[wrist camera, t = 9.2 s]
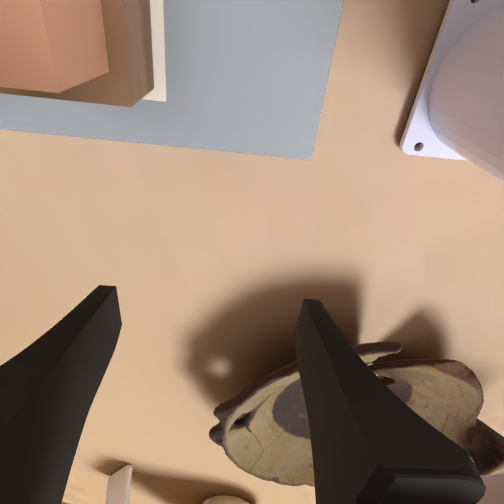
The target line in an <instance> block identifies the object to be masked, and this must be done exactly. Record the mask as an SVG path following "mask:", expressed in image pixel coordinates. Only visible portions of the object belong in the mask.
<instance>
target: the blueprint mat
mask: <svg viewBox="0 0 504 504" xmlns="http://www.w3.org/2000/svg"><path fill="white" fill-rule="evenodd" d="M343 3H344V0H150V12H151V33H152V53H153V73H154V89H153V90H152V91H151V92H149V93H148V94H147V95H146V96H144V97H143V98H142V99H141V100H139V101H138V102H137V103H136V104H134V105H133V106H132V107H124V106H114V105H105V104H95V103H86V102H77V101H67V100H58V99H49V98H39V97H30V96H20V95H11V94H2V93H0V130H10V131H20V132H31V133H41V134H51V135H61V136H71V137H81V138H91V139H101V140H111V141H121V142H131V143H142V144H152V145H162V146H172V147H182V148H192V149H202V150H212V151H222V152H232V153H242V154H253V155H263V156H273V157H283V158H293V159H303V160H311V156H312V151H313V147H314V142H315V137H316V132H317V128H318V123H319V118H320V113H321V108H322V104H323V99H324V94H325V89H326V84H327V80H328V75H329V70H330V65H331V60H332V56H333V51H334V46H335V41H336V36H337V32H338V27H339V22H340V17H341V13H342V8H343Z"/></svg>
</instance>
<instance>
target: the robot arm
mask: <svg viewBox="0 0 504 504" xmlns="http://www.w3.org/2000/svg"><path fill="white" fill-rule="evenodd" d="M419 142H420V143H421V144H420V147H419V148H417V149H414V146H415V145H416V144H417V143H419ZM399 147H400V150H401V151H402V152H403V153H405V154H409V155H419V156H429V157H438V158H448V159H458V160H468V161H470V162H471V163H473V164H474V165H476V166H477V167H479V168H481V169H482V170H484V171H485V172H487V173H488V174H490V175H491V176H493V177H494V178H496V179H498V180H499V181H501V182H502V183H504V0H475V2H473V3H471V0H450V1H449V4H448V7H447V10H446V13H445V16H444V18H443V21H442V24H441V27H440V30H439V33H438V36H437V39H436V41H435V44H434V47H433V50H432V53H431V56H430V59H429V61H428V64H427V67H426V70H425V73H424V76H423V79H422V81H421V84H420V87H419V90H418V93H417V96H416V99H415V101H414V104H413V107H412V110H411V113H410V116H409V119H408V122H407V124H406V127H405V130H404V133H403V136H402V139H401V142H400V146H399ZM121 326H122V322H121V315H120V309H119V302H118V296H117V289H116V286H103V285H99V286H98V287H97V288H96V289H95V290H93V291H92V292H91V293H90V294H89V295H88V296H87V297H86V298H85V299H84V300H83V301H82V302H81V303H79V304H78V305H77V306H76V307H75V308H74V309H73V310H72V311H71V312H70V313H68V314H67V315H66V316H65V317H64V318H63V319H62V320H60V321H59V322H58V323H57V324H56V325H55V326H53V327H52V328H51V329H50V330H49V331H47V332H46V333H45V334H44V335H42V336H41V337H40V338H39V339H37V340H36V341H35V342H34V343H32V344H31V345H30V346H28V347H27V348H26V349H24V350H23V351H22V352H20V353H19V354H17V355H16V356H14V357H13V358H12V359H10V360H9V361H7V362H6V363H4V364H3V365H1V366H0V504H61V502H62V499H63V495H64V491H65V488H66V484H67V480H68V477H69V473H70V470H71V466H72V463H73V460H74V456H75V453H76V449H77V446H78V443H79V440H80V436H81V433H82V430H83V427H84V424H85V421H86V417H87V415H88V412H89V409H90V407H91V404H92V402H93V399H94V397H95V395H96V392H97V390H98V388H99V386H100V383H101V381H102V379H103V376H104V374H105V372H106V369H107V367H108V365H109V362H110V360H111V357H112V355H113V353H114V350H115V347H116V344H117V341H118V337H119V333H120V330H121ZM295 348H296V359H297V365H298V370H299V375H300V380H301V385H302V390H303V394H304V399H305V404H306V409H307V415H308V421H309V428H310V438H311V448H312V458H313V470H314V482H315V496H316V504H476V503H477V502H479V500H480V499H481V498H482V497H483V496H484V494H485V489H486V487H485V485H484V483H483V481H482V479H481V477H480V475H479V473H478V470H477V468H476V466H475V464H474V463H473V461H472V459H471V458H470V456H469V454H468V452H467V451H466V450H465V449H463V448H462V447H460V446H459V445H458V444H456V443H455V442H453V441H452V440H451V439H449V438H448V437H446V436H445V435H444V434H442V433H441V432H440V431H438V430H437V429H435V428H434V427H433V426H432V425H430V424H429V423H428V422H427V421H425V420H424V419H423V418H422V417H420V416H419V415H418V414H417V413H416V412H414V411H413V410H412V409H411V408H410V407H408V406H407V405H406V404H405V403H404V402H403V401H402V400H401V399H400V398H399V397H397V396H396V395H395V394H394V393H393V392H392V391H391V390H390V389H389V388H388V387H387V386H386V385H385V384H384V383H383V382H382V381H381V380H380V379H379V378H378V377H377V376H376V375H375V374H374V373H373V372H372V371H371V369H370V368H369V367H368V366H367V365H366V364H365V362H364V361H363V360H362V359H361V358H360V356H359V355H358V354H357V353H356V352H355V350H354V349H353V348H352V346H351V345H350V344H349V342H348V341H347V340H346V338H345V337H344V336H343V334H342V333H341V332H340V330H339V329H338V327H337V326H336V324H335V323H334V321H333V320H332V318H331V317H330V315H329V314H328V312H327V311H326V309H325V308H324V306H323V305H322V303H321V302H320V301H319V300H310V299H304V300H303V304H302V308H301V312H300V316H299V320H298V324H297V327H296V331H295Z"/></svg>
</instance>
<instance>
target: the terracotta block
mask: <svg viewBox="0 0 504 504" xmlns="http://www.w3.org/2000/svg"><path fill="white" fill-rule="evenodd" d="M108 72H109V67H108V58H107V50H106V41H105V32H104V24H103V15H102V7H101V0H0V87H6V88H16V89H25V90H35V91H44V92H53V93H60V92H62V91H64V90H67V89H69V88H72V87H74V86H76V85H79V84H81V83H84V82H86V81H88V80H91V79H93V78H96V77H98V76H100V75H103V74H105V73H108Z"/></svg>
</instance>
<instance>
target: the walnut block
mask: <svg viewBox="0 0 504 504" xmlns="http://www.w3.org/2000/svg"><path fill="white" fill-rule="evenodd" d="M101 7H102V15H103V24H104V32H105V41H106V50H107V58H108V67H109V72H108V73H105V74H103V75H100V76H98V77H96V78H93V79H91V80H88V81H86V82H84V83H81V84H79V85H76V86H74V87H72V88H69V89H67V90H64V91H62V92H60V93H53V92H44V91H35V90H25V89H16V88H6V87H0V93H2V94H11V95H20V96H30V97H39V98H49V99H58V100H67V101H77V102H86V103H95V104H105V105H114V106H124V107H132V106H133V105H134V104H136V103H137V102H138V101H139V100H141V99H142V98H143V97H144V96H146V95H147V94H148V93H149V92H151V91H152V90H153V89H154V73H153V53H152V33H151V12H150V0H101Z"/></svg>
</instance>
